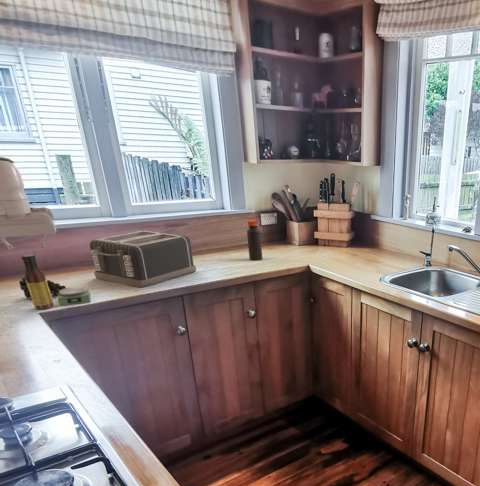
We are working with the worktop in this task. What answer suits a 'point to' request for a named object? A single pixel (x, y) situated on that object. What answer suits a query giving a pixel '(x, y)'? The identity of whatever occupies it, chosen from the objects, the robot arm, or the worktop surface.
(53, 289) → the fruit
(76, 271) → the worktop surface
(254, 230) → the vinegar
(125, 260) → the toaster
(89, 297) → the scale
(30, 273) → the sauce bottle
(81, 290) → the scale pan
